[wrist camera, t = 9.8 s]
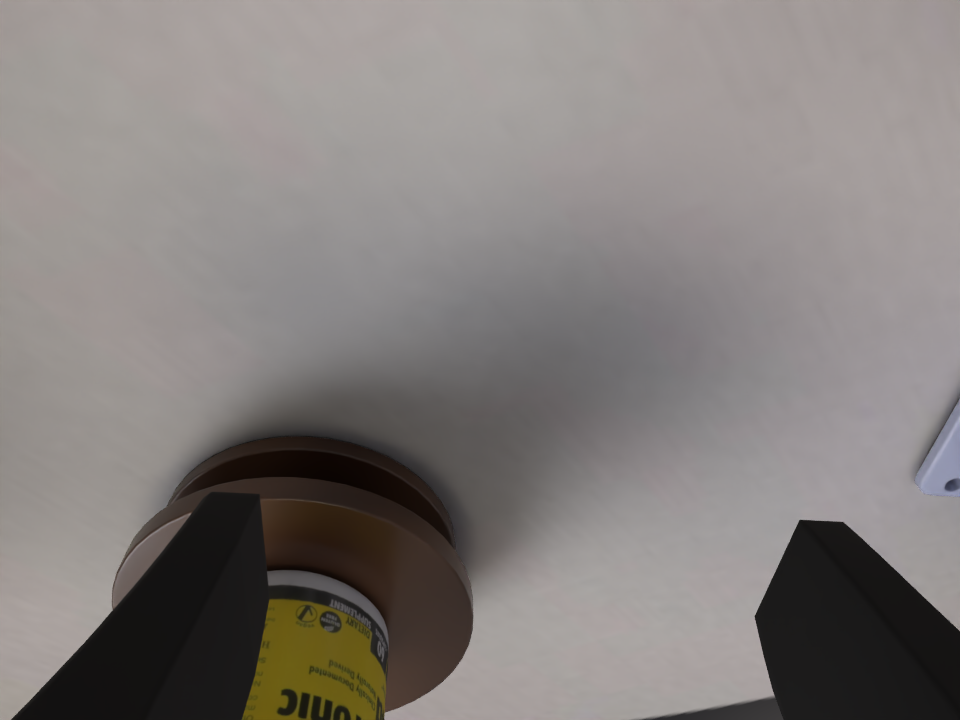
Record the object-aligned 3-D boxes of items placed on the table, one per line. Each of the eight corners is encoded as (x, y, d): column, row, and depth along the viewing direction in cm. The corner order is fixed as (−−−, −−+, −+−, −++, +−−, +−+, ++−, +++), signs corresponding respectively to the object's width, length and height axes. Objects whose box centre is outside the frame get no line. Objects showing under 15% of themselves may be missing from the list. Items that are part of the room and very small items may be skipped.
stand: (486, 431, 21) (491, 508, 19) (457, 647, 27) (457, 728, 24) (123, 410, 20) (77, 488, 18) (170, 637, 26) (140, 720, 24)
